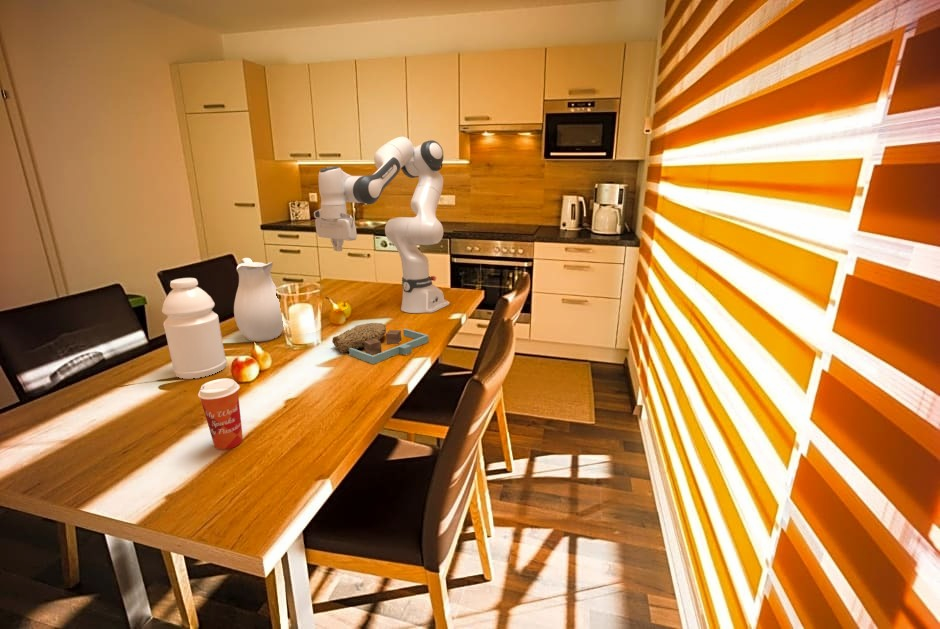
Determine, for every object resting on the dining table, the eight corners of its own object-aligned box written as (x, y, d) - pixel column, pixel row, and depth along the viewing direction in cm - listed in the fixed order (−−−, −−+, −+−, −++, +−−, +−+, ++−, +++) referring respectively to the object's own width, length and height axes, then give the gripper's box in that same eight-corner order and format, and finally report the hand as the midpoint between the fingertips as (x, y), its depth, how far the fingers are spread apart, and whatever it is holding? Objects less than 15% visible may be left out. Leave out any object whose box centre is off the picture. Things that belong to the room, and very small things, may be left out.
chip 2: (390, 340, 162) (389, 329, 161) (401, 341, 161) (400, 330, 160) (386, 344, 158) (385, 333, 157) (397, 345, 158) (397, 334, 156)
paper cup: (207, 456, 96) (194, 396, 92) (210, 438, 103) (199, 381, 99) (248, 447, 99) (237, 388, 95) (249, 430, 106) (239, 374, 102)
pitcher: (294, 338, 165) (283, 261, 157) (242, 348, 156) (229, 267, 148) (278, 321, 184) (268, 252, 176) (232, 329, 175) (219, 257, 167)
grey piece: (405, 335, 167) (404, 328, 166) (434, 343, 158) (433, 336, 157) (349, 355, 149) (348, 348, 148) (379, 366, 140) (378, 358, 139)
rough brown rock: (346, 360, 149) (398, 335, 158) (337, 338, 147) (391, 314, 156) (333, 355, 159) (383, 332, 169) (325, 334, 157) (376, 312, 167)
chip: (375, 349, 154) (374, 338, 153) (381, 353, 151) (380, 341, 150) (365, 352, 151) (364, 341, 150) (370, 356, 148) (369, 344, 147)
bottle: (164, 374, 136) (143, 282, 128) (207, 358, 148) (190, 273, 140) (195, 383, 130) (175, 287, 122) (237, 365, 142) (221, 277, 134)
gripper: (359, 213, 163) (362, 252, 168) (325, 211, 176) (329, 247, 180) (344, 215, 159) (348, 254, 163) (311, 212, 171) (315, 249, 175)
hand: (338, 250), depth 172 cm, fingers closed
